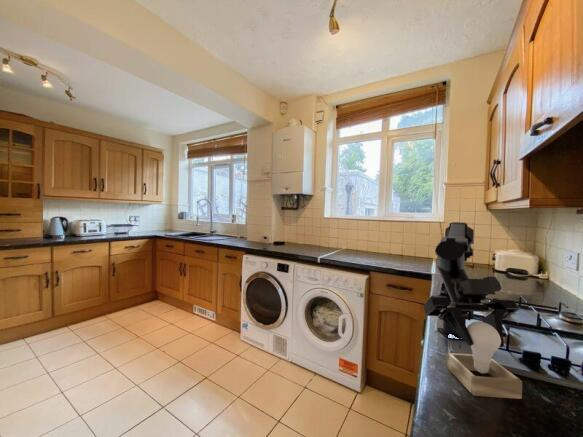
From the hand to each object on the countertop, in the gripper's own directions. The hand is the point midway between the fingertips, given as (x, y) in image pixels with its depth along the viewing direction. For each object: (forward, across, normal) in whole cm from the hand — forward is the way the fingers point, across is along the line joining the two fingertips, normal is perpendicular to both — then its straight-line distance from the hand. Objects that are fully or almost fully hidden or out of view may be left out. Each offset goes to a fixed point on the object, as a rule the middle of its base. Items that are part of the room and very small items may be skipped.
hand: (486, 346), depth 52 cm
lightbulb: (+4, 0, +6) cm, 7 cm away
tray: (+5, 0, +7) cm, 9 cm away
